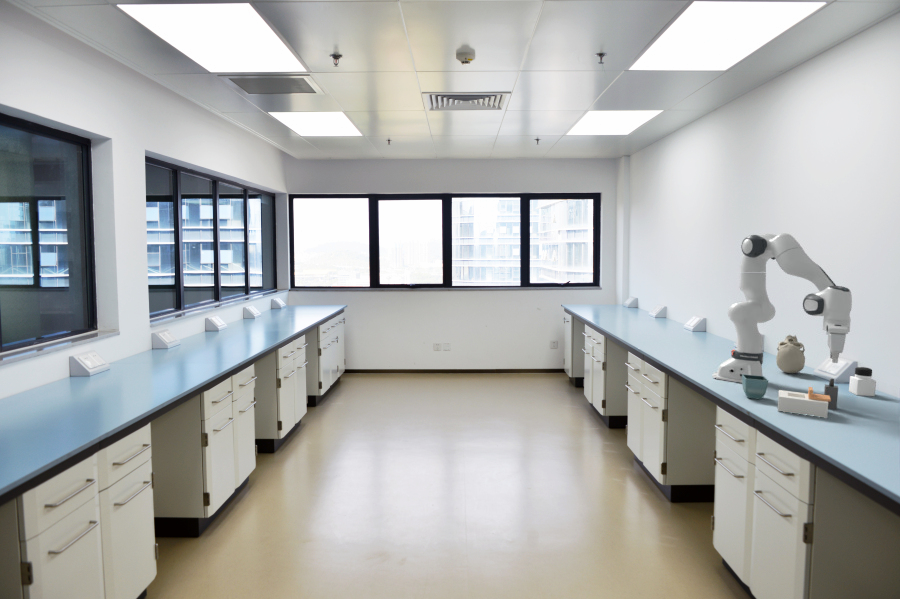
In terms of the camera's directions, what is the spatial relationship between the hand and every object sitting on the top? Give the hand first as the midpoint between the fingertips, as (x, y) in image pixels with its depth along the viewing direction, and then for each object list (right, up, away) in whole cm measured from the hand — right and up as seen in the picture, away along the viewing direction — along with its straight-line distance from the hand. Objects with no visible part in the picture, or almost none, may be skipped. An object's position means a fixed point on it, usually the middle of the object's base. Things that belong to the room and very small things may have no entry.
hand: (833, 360), depth 217 cm
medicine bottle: (+30, -18, +25) cm, 43 cm away
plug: (0, -19, +2) cm, 20 cm away
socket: (-15, -20, -3) cm, 25 cm away
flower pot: (-23, -18, +16) cm, 34 cm away
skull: (+23, -14, +64) cm, 69 cm away
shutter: (-10, -14, -6) cm, 18 cm away
